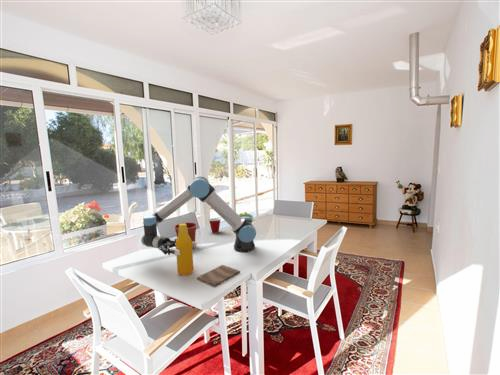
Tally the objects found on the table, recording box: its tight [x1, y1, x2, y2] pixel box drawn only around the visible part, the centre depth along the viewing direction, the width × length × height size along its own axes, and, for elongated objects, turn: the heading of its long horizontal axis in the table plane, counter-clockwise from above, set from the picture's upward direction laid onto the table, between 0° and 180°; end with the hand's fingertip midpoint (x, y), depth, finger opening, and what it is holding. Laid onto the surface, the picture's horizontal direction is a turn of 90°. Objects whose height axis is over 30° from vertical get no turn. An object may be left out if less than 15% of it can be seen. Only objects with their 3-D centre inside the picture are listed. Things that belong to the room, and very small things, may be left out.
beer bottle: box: [175, 222, 195, 276], centre depth 153 cm, size 9×9×29 cm
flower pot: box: [173, 221, 198, 242], centre depth 197 cm, size 16×16×16 cm
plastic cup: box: [208, 217, 222, 234], centre depth 229 cm, size 11×11×12 cm
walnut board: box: [196, 264, 241, 288], centre depth 149 cm, size 20×14×1 cm
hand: (188, 248), depth 152 cm, fingers open, 13 cm apart
